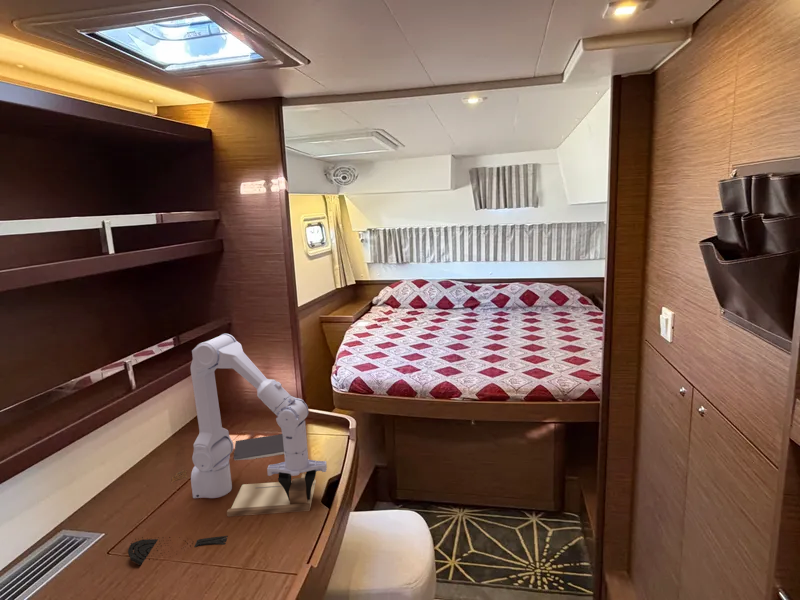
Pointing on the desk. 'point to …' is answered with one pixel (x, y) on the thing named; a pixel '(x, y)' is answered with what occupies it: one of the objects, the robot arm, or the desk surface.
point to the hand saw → (179, 475)
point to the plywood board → (265, 500)
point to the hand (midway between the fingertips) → (299, 498)
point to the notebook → (259, 447)
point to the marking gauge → (298, 491)
